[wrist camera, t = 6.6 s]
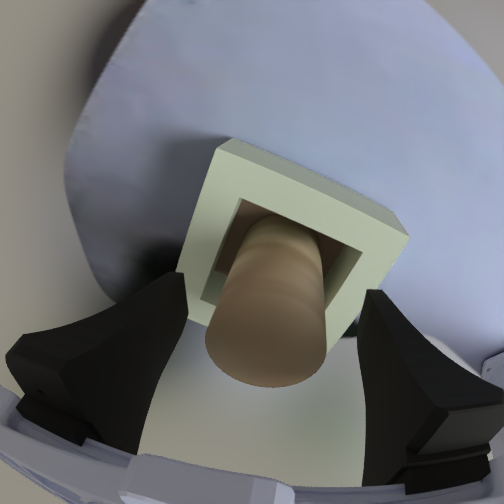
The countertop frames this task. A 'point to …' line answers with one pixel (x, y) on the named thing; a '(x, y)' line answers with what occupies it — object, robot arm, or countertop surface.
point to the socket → (295, 208)
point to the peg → (271, 307)
